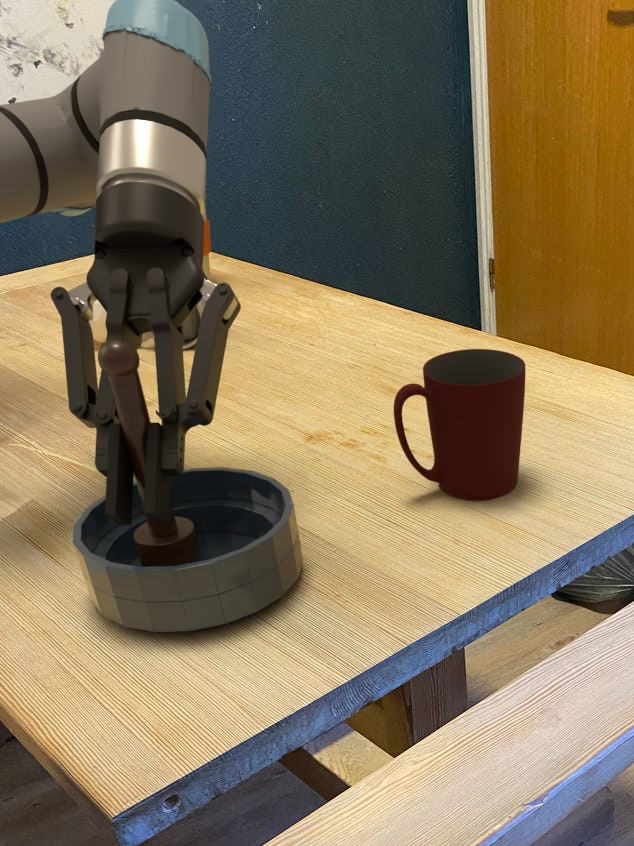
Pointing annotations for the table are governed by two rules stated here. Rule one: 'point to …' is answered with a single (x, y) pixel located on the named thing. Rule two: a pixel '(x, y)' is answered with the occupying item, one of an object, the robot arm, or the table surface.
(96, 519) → the bowl
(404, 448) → the mug
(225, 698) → the table surface
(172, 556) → the muddler
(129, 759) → the table surface
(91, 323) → the geometric ball
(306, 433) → the table surface
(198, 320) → the ceramic mug
